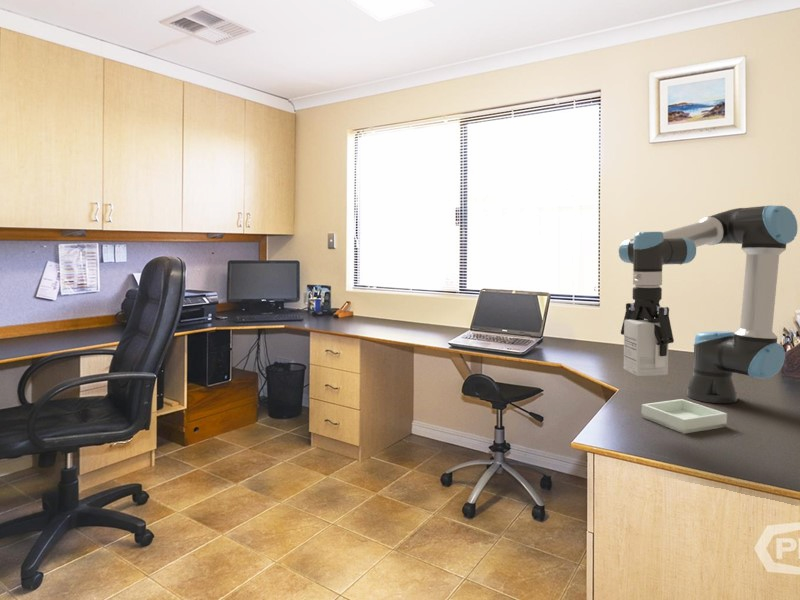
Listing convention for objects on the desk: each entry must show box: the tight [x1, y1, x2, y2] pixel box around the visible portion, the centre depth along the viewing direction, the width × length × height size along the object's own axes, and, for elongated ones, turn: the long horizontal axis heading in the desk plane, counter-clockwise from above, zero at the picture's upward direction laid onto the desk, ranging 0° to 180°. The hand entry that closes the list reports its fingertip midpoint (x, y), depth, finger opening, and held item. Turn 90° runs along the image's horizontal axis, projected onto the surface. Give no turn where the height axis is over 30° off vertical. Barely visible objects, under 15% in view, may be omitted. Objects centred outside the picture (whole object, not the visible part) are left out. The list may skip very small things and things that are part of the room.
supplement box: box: [623, 319, 669, 377], centre depth 153 cm, size 9×9×15 cm
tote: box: [640, 398, 728, 434], centre depth 160 cm, size 16×16×4 cm
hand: (645, 363), depth 153 cm, fingers closed on supplement box, 10 cm apart
